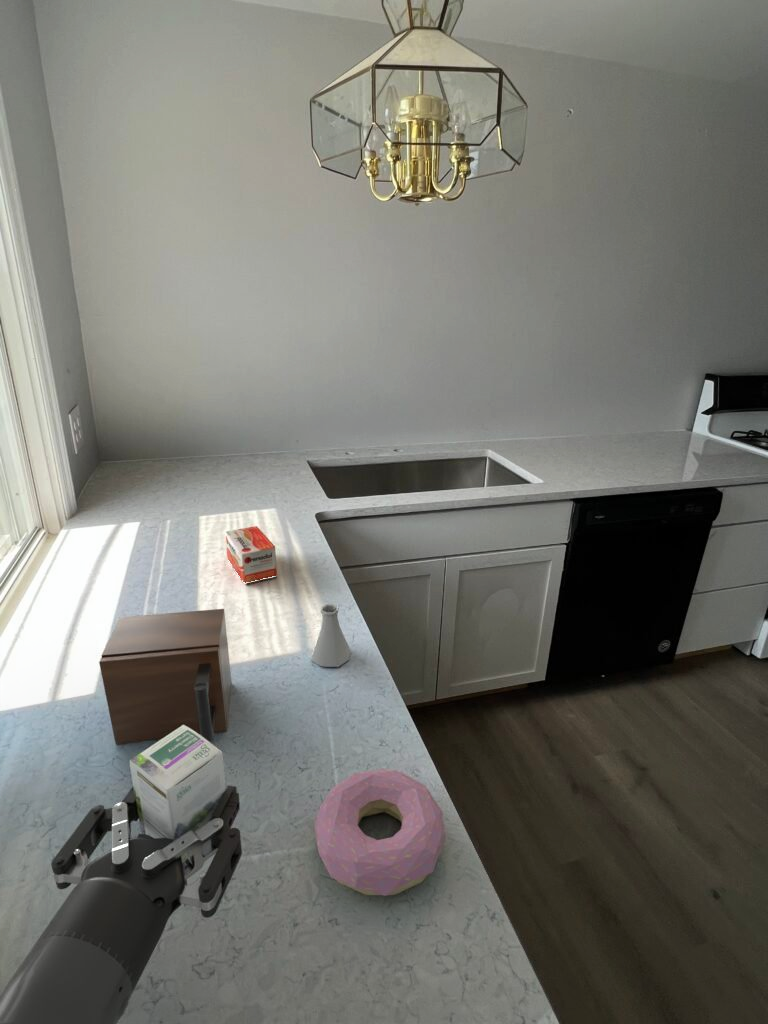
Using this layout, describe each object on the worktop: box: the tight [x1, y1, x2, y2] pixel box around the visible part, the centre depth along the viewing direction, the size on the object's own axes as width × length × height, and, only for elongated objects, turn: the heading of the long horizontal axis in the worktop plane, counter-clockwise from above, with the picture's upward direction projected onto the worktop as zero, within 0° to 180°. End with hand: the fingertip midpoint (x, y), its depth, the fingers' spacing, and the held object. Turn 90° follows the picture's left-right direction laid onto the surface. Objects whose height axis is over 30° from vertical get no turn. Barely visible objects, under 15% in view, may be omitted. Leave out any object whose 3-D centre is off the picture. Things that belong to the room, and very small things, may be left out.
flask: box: [310, 603, 351, 668], centre depth 99 cm, size 7×7×10 cm
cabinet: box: [101, 608, 233, 726], centre depth 85 cm, size 10×16×15 cm, turn 101°
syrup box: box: [129, 725, 227, 907], centre depth 52 cm, size 6×6×14 cm
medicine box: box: [224, 525, 278, 583], centre depth 132 cm, size 15×8×8 cm, turn 29°
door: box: [98, 647, 228, 745], centre depth 77 cm, size 7×16×14 cm, turn 101°
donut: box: [313, 768, 446, 897], centre depth 66 cm, size 16×15×5 cm
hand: (192, 785), depth 53 cm, fingers closed on syrup box, 7 cm apart
